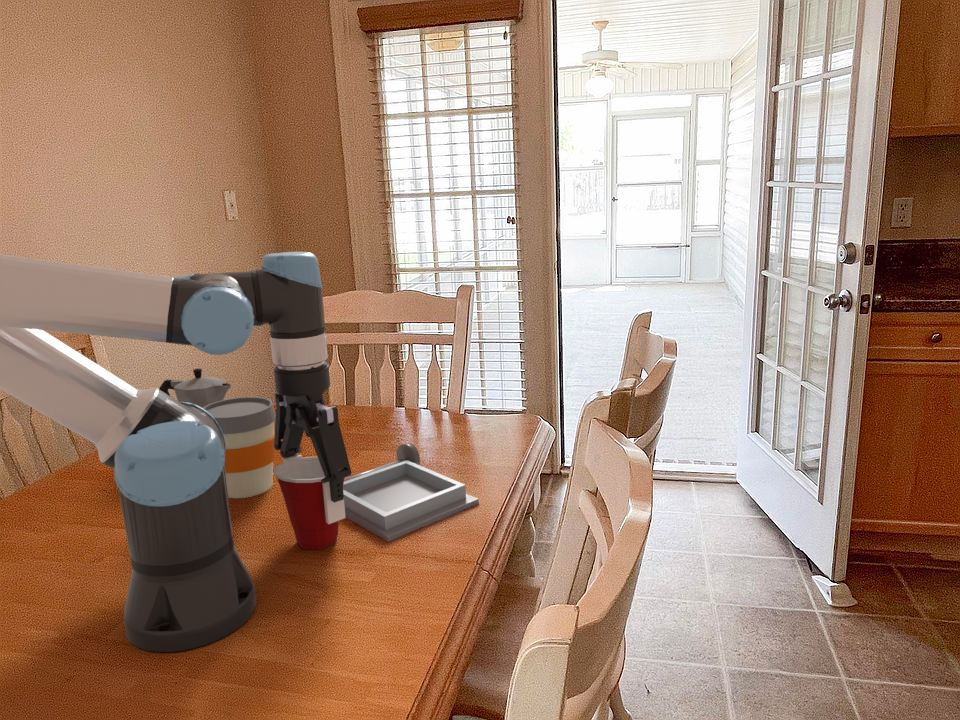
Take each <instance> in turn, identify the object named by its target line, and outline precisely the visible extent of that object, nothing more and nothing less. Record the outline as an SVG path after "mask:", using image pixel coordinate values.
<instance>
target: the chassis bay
mask: <svg viewBox="0 0 960 720" xmlns="http://www.w3.org/2000/svg"><path fill="white" fill-rule="evenodd" d="M396 459H397V460H396V461H393V462H390V463H386V464H384V465H381V466H378V467H375V468H372V469H369V470H366V471H363V472H360V473H357V474H355V475H350V476H348V477H345V478H344V484H343V493H344V506H345V518H346V517H347V518H346V519H349V520H350V521H351V522H353V521H354V523H355V524H357V525H359V526H360V525H361V526H360V527H362V528H364V529H365V530H367V531H369V532H370V531H371V533H372V534H374V535H375V536H378V537H379V538H381V539H382V540H384V541H386V542H387V543H389V542H391V541H393V540H396V539H398V538H400V537H403V536H405V535H408V534H410V533H412V532H411V531H413V532H414V530H415V531H417V530H419V528H420V529H422V528H424V527H426V526H427V527H428V526H429V525H431V524H434V523H436V522H438V521H439V522H440V520H443V519H445V518H448V517H450V516H453V515H455V514H457V513H460V512H462V511H465V510H466V509H469V508H471V506H472V507H474V506H476V505H478V503H479V504H480V500H479V499H480V498H478V497H476V496H473V495H470V494H468V493H467V491H466V488H467V487H466V484H465V483H462V482H460V481H457V480H456V479H452V478H450V477H448V476H445V475H443V474H441V473H438V472H436V471H434V470H431V469H429V468H427V467H425V466H422V465H421V464H420V463H421V459H420V453H419V451H418V449H417V447H416V446H415V444H413V443H412V442H406V443H403V444H400V445H398V447H397V449H396ZM464 509H465V510H464ZM459 511H460V512H459ZM421 527H422V528H421ZM416 529H417V530H416ZM409 532H410V533H409Z"/></svg>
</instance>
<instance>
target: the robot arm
mask: <svg viewBox="0 0 960 720" xmlns="http://www.w3.org/2000/svg"><path fill="white" fill-rule="evenodd" d="M260 267H261V268H258V269H254V270H250V271H249V270H248V271H247V270H246V271H230V272H229V271H227V272H213V273H212V272H211V273H199V272H198V273H196V272H195V273H192V274H188V275H179V276H174V277H171V276H165V275H156V274H150V273H149V274H148V273H141V272H134V271H129V270H127V271H126V270H120V269H111V268H105V267H99V266H97V267H96V266H92V265H91V266H89V265H83V264H76V263H68V262H62V261H55V260H54V261H53V260H47V259H40V258H34V257H32V258H31V257H25V256H17V255H11V254H3V253H0V390H1V391H3V392H5V393H7V394H8V395H10V396H11V397H13V398H14V399H17V400H18V401H20V402H22V403H24V404H25V405H27V406H28V407H31V408H32V409H34V410H36V411H37V412H38V413H41V414H43V415H44V416H45V417H48V418H49V419H51V420H53V421H55V422H56V423H58V424H60V425H62V426H63V427H65V428H67V429H69V430H70V431H72V432H73V433H76V434H77V435H78V436H80V437H82V438H84V439H85V440H88V441H89V442H91V443H93V444H94V445H95V447H96V450H97V454H98V458H99V462H101V463H102V464H104V465H106V466H108V467H110V468H111V469H113V470H114V471H113V476H114V481H115V483H116V487H117V489H118V494H119V500H120V501H119V502H120V504H121V505H120V506H121V513H122V518H123V523H124V529H125V537H126V542H127V546H128V547H127V548H128V554H129V558H130V559H129V560H130V564H131V575H130V580H129V586H128V589H127V595H126V599H125V605H124V610H123V623H124V628H125V635H126V638H127V640H128V641H129V642H130V643H131V644H132V645H133V646H135V647H137V648H138V649H140V650H145V651H148V652H155V653H173V652H181V651H186V650H187V651H188V650H192V649H196V648H199V647H202V646H205V645H209V644H212V643H214V642H216V641H218V640H221V639H222V638H225V637H226V636H229V635H230V634H231V633H234V632H235V631H237V630H238V629H239V628H240V627H242V626H243V625H244V624H245V623H246V622H247V621H248V620H249V619H250V618H251V616H252V615H253V613H254V611H255V609H256V606H257V597H256V596H257V595H256V588H255V587H256V586H255V584H254V581H253V579H252V576H251V574H250V573H249V571H248V569H247V567H246V566H245V563H244V562H243V560H242V558H241V556H240V554H239V553H238V551H237V549H236V547H235V542H234V541H235V540H234V534H233V533H234V532H233V526H232V525H233V524H232V518H231V510H230V509H231V508H230V501H229V498H228V492H227V483H226V471H225V467H226V465H225V453H226V444H225V439H224V435H223V432H222V430H221V428H220V426H219V424H218V423H217V421H216V420H215V418H214V417H213V416H212V415H211V414H210V413H209V412H208V411H206V410H205V409H203V408H202V407H200V406H198V405H195V404H192V403H188V402H179V401H178V399H175V398H174V397H173V396H171V395H170V396H169V395H167V394H166V393H164V392H163V391H161V390H159V388H157V387H151V388H145V389H140V388H139V389H138V388H136V387H135V386H132V385H131V384H129V383H128V382H127V381H125V380H123V379H121V378H120V377H119V376H117V375H115V374H114V373H112V372H111V371H109V370H108V369H106V368H104V367H103V366H101V365H99V364H98V363H97V362H95V361H93V360H92V359H90V358H88V357H87V356H85V355H83V354H82V353H80V352H79V351H77V350H75V349H73V348H72V347H70V346H69V345H67V344H66V343H65V342H63V341H61V340H60V339H58V338H57V337H55V336H53V335H52V334H51V333H48V332H47V331H49V332H59V333H68V334H69V333H70V334H77V335H79V334H80V335H88V336H97V337H98V336H101V337H107V338H109V337H110V338H117V339H118V338H119V339H128V340H139V341H148V342H159V343H165V344H166V343H167V344H173V345H174V344H175V345H183V346H192V347H194V348H196V349H198V350H199V351H201V352H203V353H206V354H210V355H215V356H220V355H221V356H222V355H227V354H230V353H233V352H235V351H237V350H239V349H241V348H242V347H243V346H244V344H245V343H246V342H247V341H248V340H249V339H250V336H251V334H252V331H253V328H254V327H261V326H267V325H268V327H269V334H270V335H269V339H270V349H271V350H270V351H271V359H272V363H273V364H274V365H275V366H276V367H275V368H274V369H273V375H274V382H275V390H276V392H275V393H274V399H275V406H276V407H275V416H276V419H275V421H274V431H275V437H274V448H275V450H276V451H279V454H280V457H282V461H283V462H285V461H289V460H293V459H297V458H303V455H302V454H301V453H302V452H303V450H302V447H301V443H302V440H303V435H304V434H305V437H308V438H310V440H311V443H312V446H313V449H314V451H315V454H316V457H318V459H319V462H320V465H321V467H322V470H323V473H324V475H325V478H323V479H322V480H321V481H322V485H323V495H324V505H325V516H326V523H328V524H331V523H334V522H336V521H339V522H340V521H341V520H344V519H346V517H345V506H344V493H343V482H342V479H343V478H344V479H345V478H348V477H351V476H352V469H351V465H350V461H349V457H348V454H347V450H346V446H345V442H344V437H343V434H342V429H341V427H340V426H341V425H340V420H339V410H338V407H337V406H335V405H333V406H330V407H329V406H327V405H326V403H325V400H324V396H323V395H324V393H325V392H326V391H327V390H329V389H330V387H331V376H330V365H329V363H328V362H327V361H326V360H327V359H328V358H329V356H328V348H327V347H328V346H327V341H328V336H326V323H325V311H324V309H325V308H324V299H323V297H324V296H323V284H322V278H321V274H320V266H319V260H318V257H317V256H316V255H315V254H314V253H312V252H308V251H286V252H285V251H283V252H277V253H276V252H275V253H268V254H265V255H263V257H262V259H261V266H260Z"/></svg>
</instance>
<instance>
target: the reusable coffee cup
mask: <svg viewBox="0 0 960 720" xmlns="http://www.w3.org/2000/svg"><path fill="white" fill-rule="evenodd" d="M203 409H205V410H206V411H208V412H209V413H210V414H211V415H212V416H213V417H214V418H215V420H216V421H217V423H218V424H219V426H220V428H221V430H222V432H223V435H224V439H225V444H226V453H225V465H226V467H225V471H226V483H227V492H228V499H245V498H246V499H247V498H250V497H251V498H252V497H255V496H258V495H261V494H264V493H266V492H268V491H269V490H270V489H271V488H272V487H273V483H274V480H273V479H274V476H273V475H274V472H273V469H274V461H275V460H276V458H277V457H276V456H277V455H276V454H277V453H276V452H277V450H275V448H274V437H275V420H276V410H275V407H274V403H273V401H272V399H269V398H266V397H262V396H261V397H260V396H240V397H233V398H227V399H223V400H222V401H218V402H214V403H211V404H209V405H207V406H205V407H203Z"/></svg>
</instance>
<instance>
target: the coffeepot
mask: <svg viewBox="0 0 960 720" xmlns="http://www.w3.org/2000/svg"><path fill="white" fill-rule="evenodd" d="M192 371H193V376H194V377H193V378H190V379H187V380H183V379H165V380H164V381H163V382H162V383H161V385H160V386H159V388H158V389H159V390H161V391H163V392H164V393H166V394H167V395H169V396H171V394H170V392H169V390H172V391H174V393H175V396H176V400H177V401H179V402H188V403H192V404H195V405H198V406H200V407H202V408H203V407H205V406H207V405H209V404H211V403H214V402H218V401H222V400H225V398H226V395H227V392H228V391H229V389H231V388H232V385H231V383H229V382H225V379H224V378H218V377H212V376H202V371H203V370H202V368H195V369H193V370H192Z"/></svg>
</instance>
